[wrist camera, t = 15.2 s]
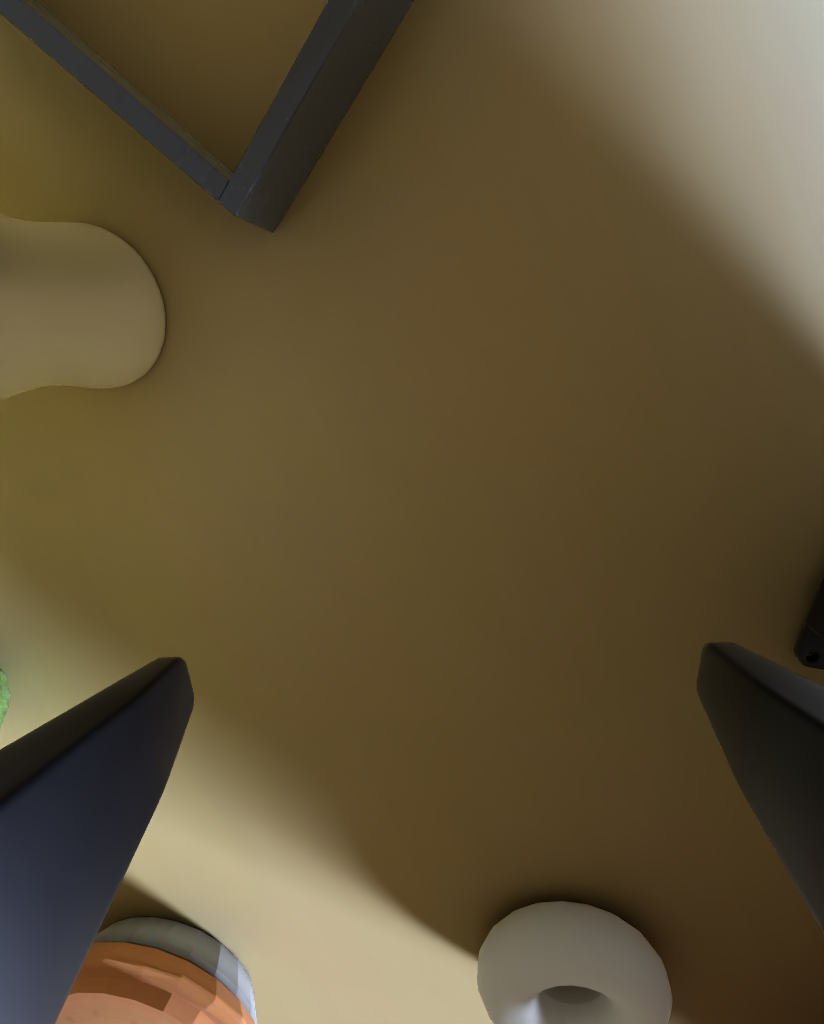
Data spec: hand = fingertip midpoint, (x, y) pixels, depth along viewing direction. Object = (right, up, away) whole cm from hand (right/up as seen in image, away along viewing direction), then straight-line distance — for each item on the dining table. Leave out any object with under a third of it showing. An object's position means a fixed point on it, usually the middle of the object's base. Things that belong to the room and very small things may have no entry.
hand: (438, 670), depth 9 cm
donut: (+8, -22, +20) cm, 31 cm away
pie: (-17, -29, +26) cm, 42 cm away
